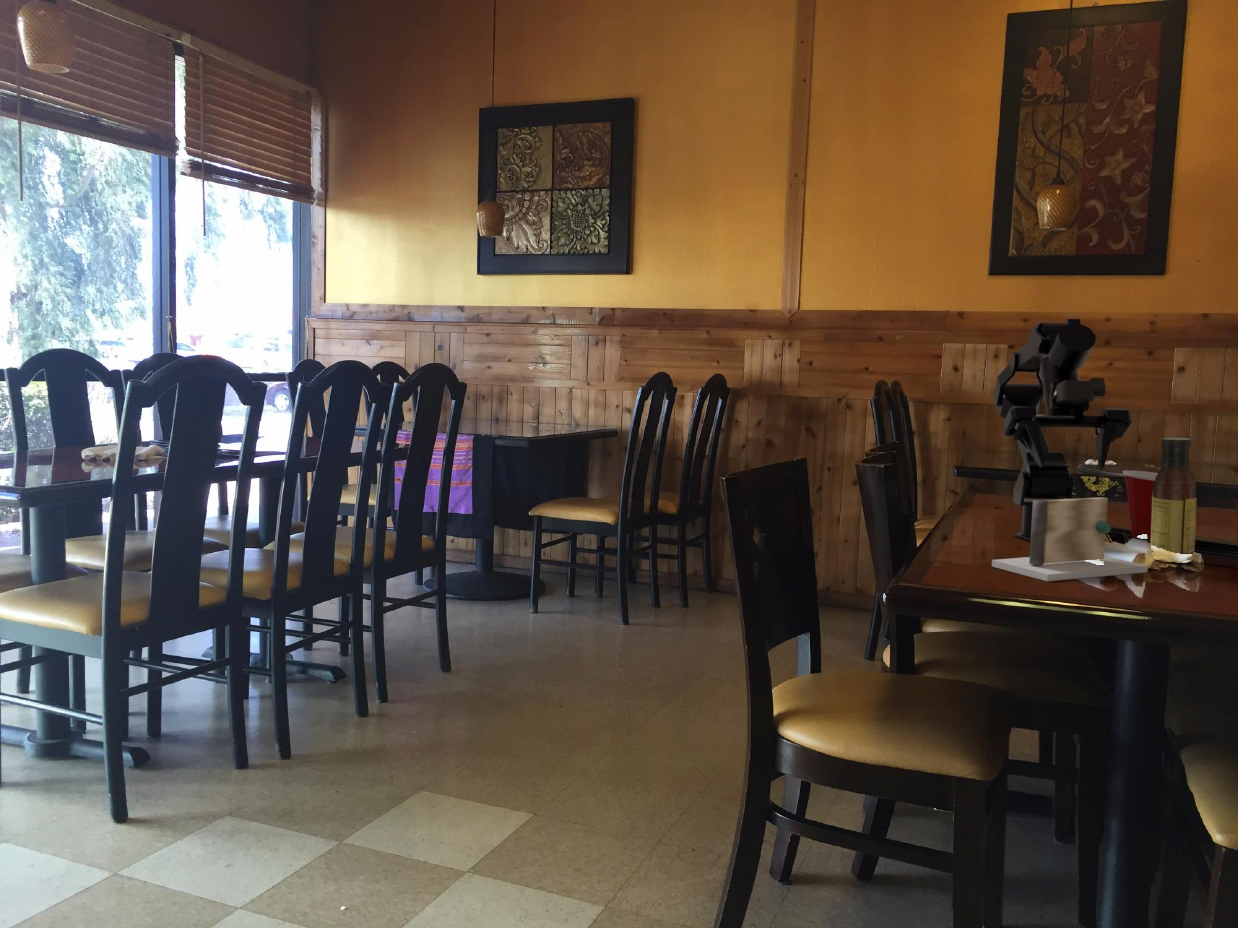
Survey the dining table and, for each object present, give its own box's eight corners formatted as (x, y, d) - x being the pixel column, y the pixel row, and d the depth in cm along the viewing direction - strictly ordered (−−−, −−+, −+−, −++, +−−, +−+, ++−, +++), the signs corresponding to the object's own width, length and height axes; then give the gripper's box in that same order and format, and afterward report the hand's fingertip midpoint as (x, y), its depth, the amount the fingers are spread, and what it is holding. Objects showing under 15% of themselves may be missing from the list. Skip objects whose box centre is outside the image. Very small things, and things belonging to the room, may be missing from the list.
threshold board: (1047, 581, 142) (1047, 574, 142) (991, 566, 152) (992, 559, 152) (1147, 572, 149) (1147, 565, 149) (1088, 558, 159) (1088, 552, 159)
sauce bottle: (1182, 557, 161) (1191, 437, 159) (1201, 565, 155) (1210, 440, 153) (1140, 556, 162) (1149, 436, 160) (1157, 564, 156) (1166, 439, 154)
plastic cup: (1185, 546, 172) (1190, 478, 171) (1116, 539, 178) (1120, 473, 176) (1185, 537, 181) (1190, 472, 180) (1120, 531, 187) (1124, 468, 186)
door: (1044, 567, 145) (1048, 503, 144) (1026, 562, 148) (1029, 500, 147) (1114, 561, 151) (1119, 499, 150) (1096, 557, 154) (1099, 496, 153)
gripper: (1015, 358, 161) (1024, 441, 153) (1136, 360, 158) (1151, 444, 151) (999, 394, 170) (1007, 474, 163) (1113, 396, 168) (1126, 478, 160)
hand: (1072, 467), depth 159 cm, fingers open, 9 cm apart
